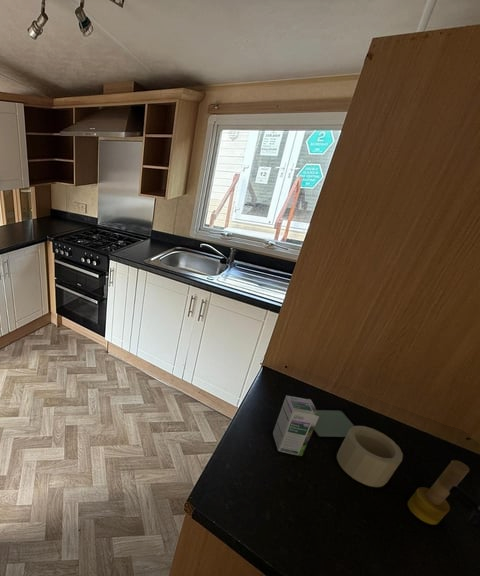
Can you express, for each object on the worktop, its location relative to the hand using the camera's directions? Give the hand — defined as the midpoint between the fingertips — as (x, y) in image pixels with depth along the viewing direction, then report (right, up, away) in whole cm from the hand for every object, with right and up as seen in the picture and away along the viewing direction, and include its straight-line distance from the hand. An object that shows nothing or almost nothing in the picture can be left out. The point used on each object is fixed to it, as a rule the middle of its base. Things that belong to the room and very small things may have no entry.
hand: (471, 484), depth 59 cm
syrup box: (-21, -4, +23) cm, 32 cm away
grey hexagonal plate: (-5, -1, +29) cm, 30 cm away
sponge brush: (-1, -11, +8) cm, 14 cm away
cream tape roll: (-6, -7, +18) cm, 20 cm away
